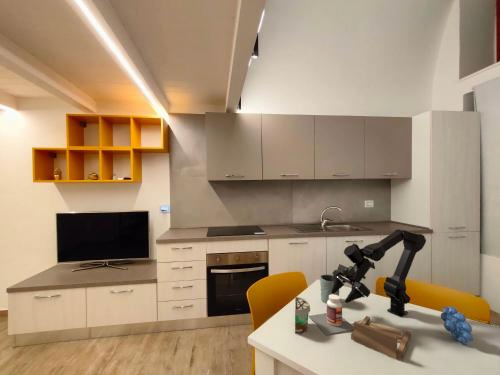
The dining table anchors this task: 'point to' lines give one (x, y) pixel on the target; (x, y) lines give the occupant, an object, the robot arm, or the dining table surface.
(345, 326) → the slate mat
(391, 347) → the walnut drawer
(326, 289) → the grey-green rounded cylinder
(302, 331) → the food container
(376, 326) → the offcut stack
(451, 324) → the grapes
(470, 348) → the dining table surface
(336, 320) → the pill bottle
